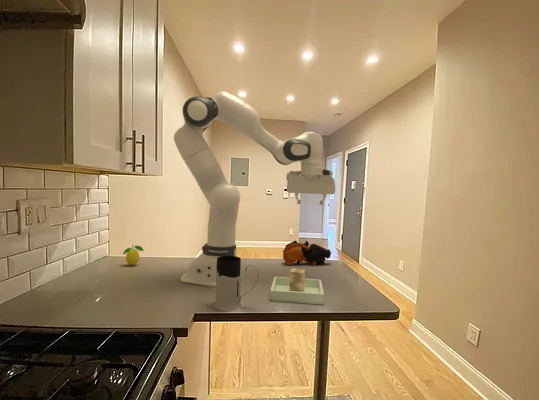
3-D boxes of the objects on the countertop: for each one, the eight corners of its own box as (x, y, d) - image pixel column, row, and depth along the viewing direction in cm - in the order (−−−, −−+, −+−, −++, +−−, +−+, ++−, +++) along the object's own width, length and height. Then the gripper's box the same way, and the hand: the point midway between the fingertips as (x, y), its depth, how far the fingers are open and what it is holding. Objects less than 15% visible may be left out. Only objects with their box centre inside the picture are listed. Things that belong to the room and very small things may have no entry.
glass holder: (218, 298, 100) (219, 254, 100) (260, 302, 98) (261, 257, 98) (209, 309, 92) (211, 261, 91) (255, 313, 90) (257, 264, 89)
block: (289, 293, 105) (289, 271, 105) (292, 289, 110) (293, 268, 109) (301, 295, 104) (302, 273, 104) (304, 291, 108) (305, 269, 108)
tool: (322, 280, 147) (334, 252, 147) (280, 263, 143) (293, 234, 143) (317, 275, 155) (328, 248, 155) (277, 259, 151) (289, 232, 151)
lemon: (143, 265, 138) (143, 243, 138) (133, 268, 133) (133, 245, 132) (132, 263, 141) (132, 242, 140) (122, 266, 135) (122, 244, 135)
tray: (270, 300, 100) (270, 290, 100) (274, 285, 116) (274, 276, 115) (323, 304, 98) (323, 294, 98) (320, 288, 114) (320, 279, 114)
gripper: (286, 170, 123) (284, 203, 124) (336, 171, 121) (335, 205, 122) (286, 171, 129) (285, 203, 130) (335, 172, 127) (333, 205, 128)
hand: (310, 204), depth 126 cm, fingers open, 8 cm apart
